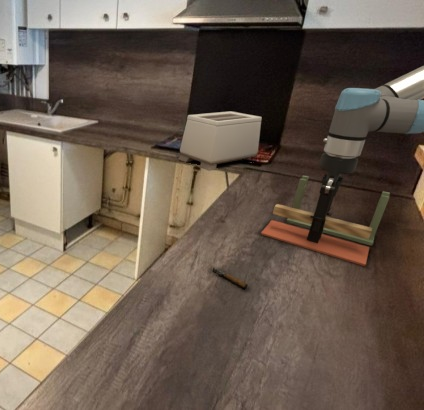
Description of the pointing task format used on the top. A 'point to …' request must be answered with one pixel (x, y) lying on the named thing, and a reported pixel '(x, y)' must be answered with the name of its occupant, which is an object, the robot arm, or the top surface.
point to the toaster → (220, 138)
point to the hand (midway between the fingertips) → (313, 238)
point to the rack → (373, 225)
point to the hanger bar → (329, 223)
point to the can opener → (231, 278)
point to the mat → (325, 244)
